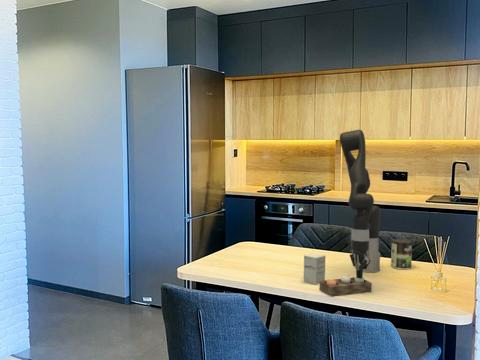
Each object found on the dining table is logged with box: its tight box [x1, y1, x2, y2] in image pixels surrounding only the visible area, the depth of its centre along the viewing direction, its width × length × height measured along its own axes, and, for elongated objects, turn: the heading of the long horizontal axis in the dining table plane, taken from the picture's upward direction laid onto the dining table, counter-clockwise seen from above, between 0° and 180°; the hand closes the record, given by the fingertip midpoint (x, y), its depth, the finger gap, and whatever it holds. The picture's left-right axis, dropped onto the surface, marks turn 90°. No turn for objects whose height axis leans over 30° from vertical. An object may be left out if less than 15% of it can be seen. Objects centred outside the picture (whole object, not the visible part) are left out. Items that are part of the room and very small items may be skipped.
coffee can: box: [390, 238, 413, 271], centre depth 249 cm, size 10×10×14 cm
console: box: [318, 276, 373, 297], centre depth 209 cm, size 20×10×4 cm, turn 110°
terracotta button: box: [327, 279, 336, 286], centre depth 206 cm, size 4×4×3 cm
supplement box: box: [303, 252, 326, 285], centre depth 222 cm, size 7×7×13 cm
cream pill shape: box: [340, 274, 351, 284], centre depth 208 cm, size 4×4×3 cm
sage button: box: [355, 276, 365, 282], centre depth 211 cm, size 4×4×3 cm
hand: (359, 277), depth 211 cm, fingers closed
